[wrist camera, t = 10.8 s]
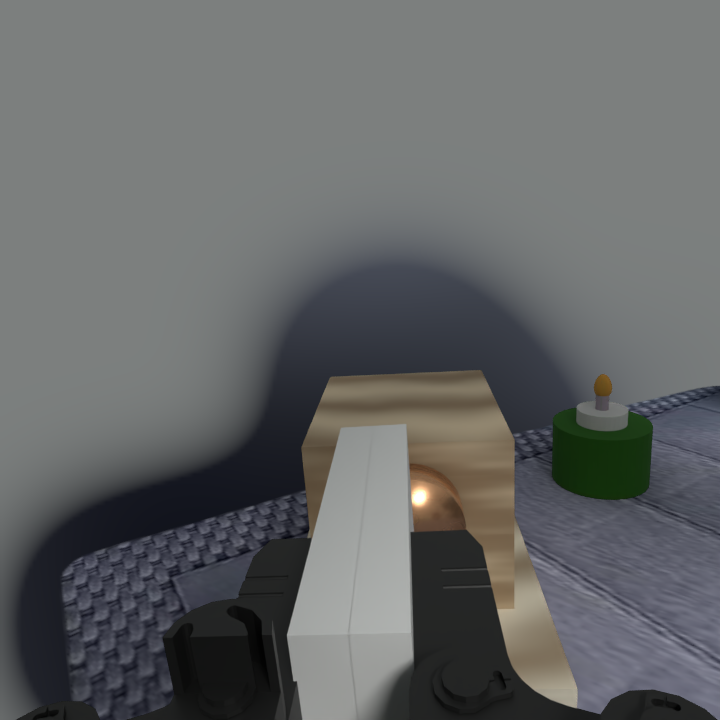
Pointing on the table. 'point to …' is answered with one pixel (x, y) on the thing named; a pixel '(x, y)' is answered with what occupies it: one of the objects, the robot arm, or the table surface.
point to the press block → (472, 481)
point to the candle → (602, 448)
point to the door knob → (434, 501)
